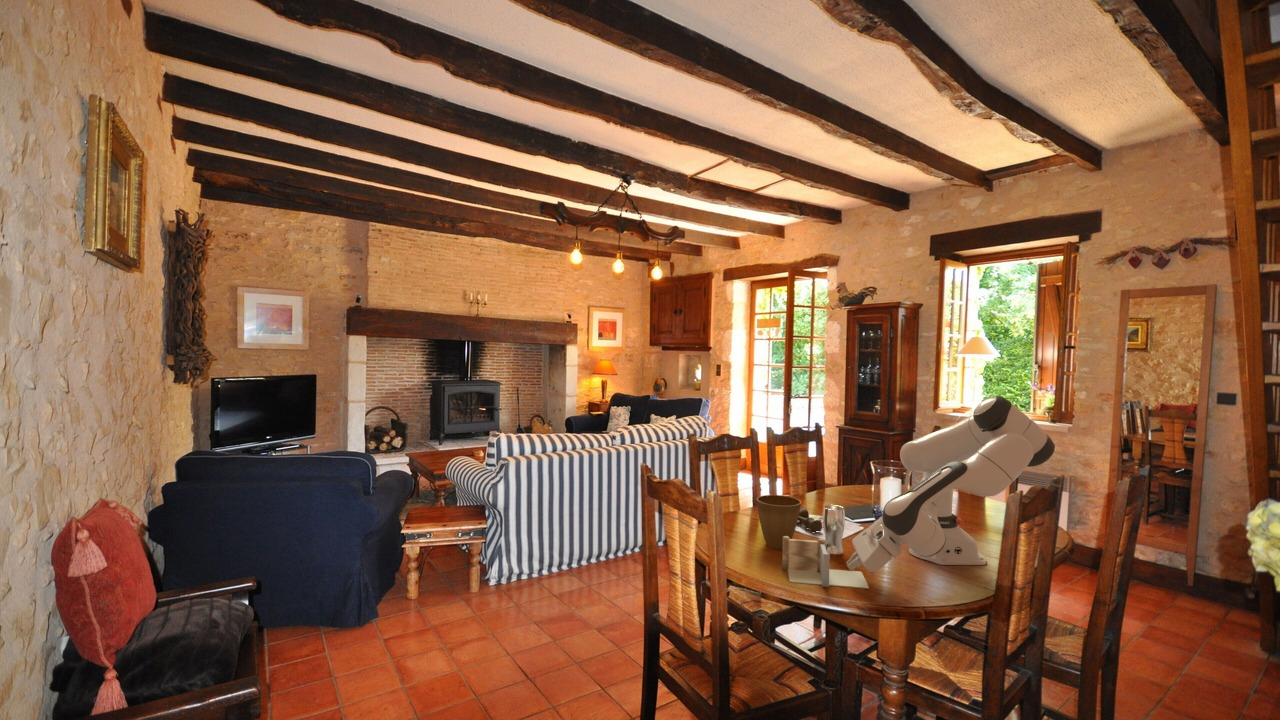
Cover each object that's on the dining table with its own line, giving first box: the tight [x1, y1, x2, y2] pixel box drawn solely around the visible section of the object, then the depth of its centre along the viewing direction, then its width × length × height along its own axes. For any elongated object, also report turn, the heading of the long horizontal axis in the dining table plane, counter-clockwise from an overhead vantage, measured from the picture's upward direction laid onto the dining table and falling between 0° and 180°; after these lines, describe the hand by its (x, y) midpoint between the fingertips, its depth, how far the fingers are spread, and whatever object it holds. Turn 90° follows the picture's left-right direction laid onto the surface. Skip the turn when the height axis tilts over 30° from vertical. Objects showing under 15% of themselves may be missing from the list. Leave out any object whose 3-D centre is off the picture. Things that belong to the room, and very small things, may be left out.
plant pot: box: [756, 494, 802, 550], centre depth 202 cm, size 15×15×16 cm
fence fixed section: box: [781, 536, 826, 572], centre depth 180 cm, size 13×2×10 cm, turn 79°
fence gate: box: [820, 544, 831, 588], centre depth 172 cm, size 11×2×9 cm, turn 168°
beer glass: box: [822, 504, 846, 556], centre depth 196 cm, size 7×7×15 cm
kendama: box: [798, 507, 823, 533], centre depth 225 cm, size 6×10×20 cm
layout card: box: [787, 568, 870, 590], centre depth 175 cm, size 22×12×1 cm, turn 79°
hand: (848, 566), depth 170 cm, fingers closed
